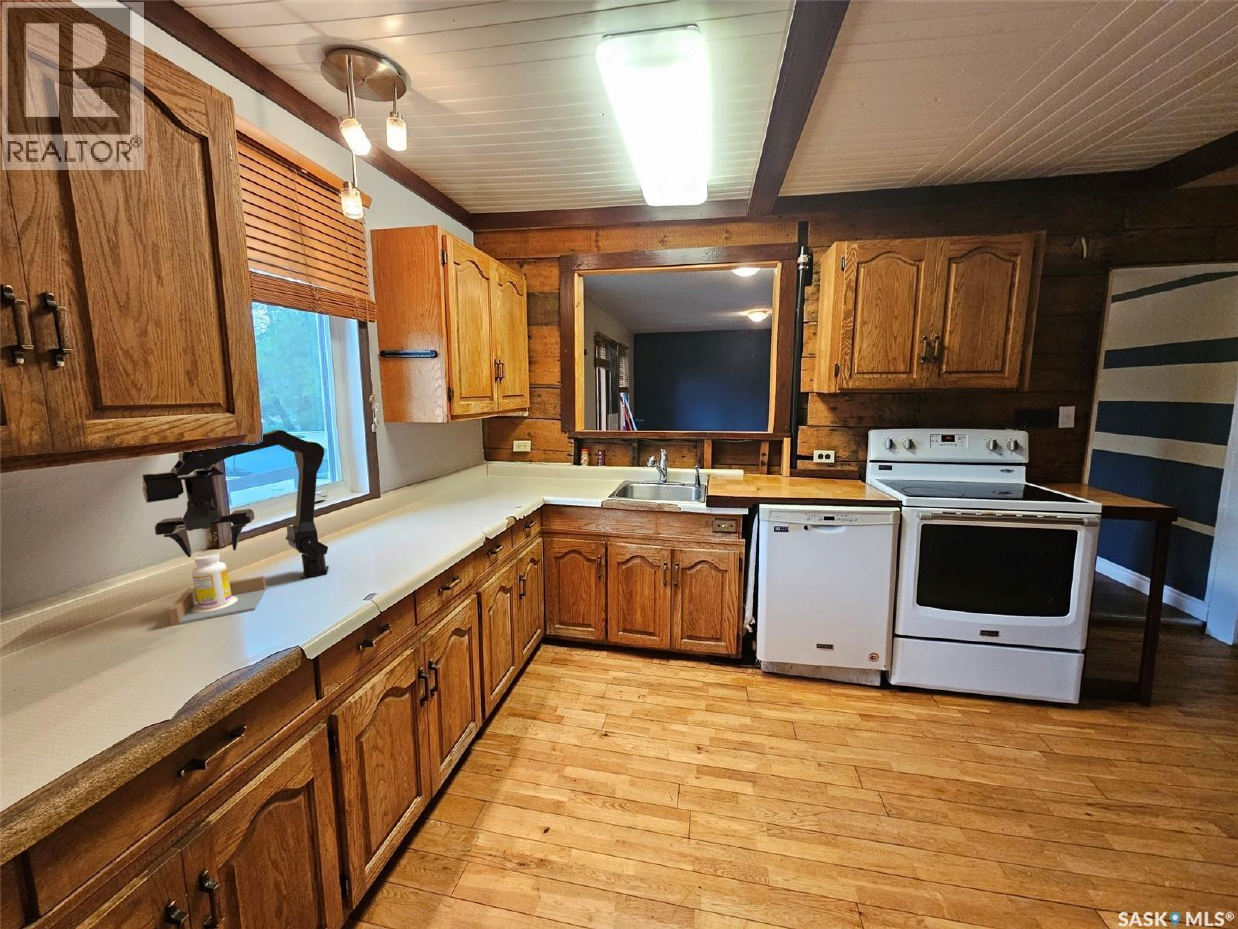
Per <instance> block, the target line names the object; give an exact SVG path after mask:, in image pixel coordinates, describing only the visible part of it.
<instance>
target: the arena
mask: <svg viewBox="0 0 1238 929" xmlns="http://www.w3.org/2000/svg"><path fill="white" fill-rule="evenodd" d="M229 584H230V589H231V595H232V599H231V600H230V601H229V602H228V603H226V604H224V605H221V606H218V607H214V608H208V609H204V608H200V607H199V606H198V602H197V596H196V591H195V586H194V587H190V588H188V589H186V591H185V592H184V593H183V594H182V595H181V596H180V597H179V598H178V599H177V600H176V601H175V602H174V603H173V604H172V606H171V607H169V608H168V614H169V620H170V625H171V627H172V626H177V625H182V624H187V623H194V622H198V621H203V620H208V619H213V618H218V617H219V618H220V617H225V616H229V615H234V614H236V615H237V614H239V613H245V612H251V611H255V610H256V608H257V607H258V605H259V603H260V601H261V600H262V598H263V596H264V594H265V592H266V591H267V587H266V581H265V575H261V576H255V577H250V578H244V579H238V580H237V579H236V580H232V581H230V580H229Z"/></svg>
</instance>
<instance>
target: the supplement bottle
mask: <svg viewBox="0 0 1238 929" xmlns="http://www.w3.org/2000/svg"><path fill="white" fill-rule="evenodd" d="M220 557H221V556H220V553H218V552H209V553H204V554H200V555H198V556H197V555H196V557H194V563H195V564H196V567H194V568H193V569H192V571H191V576H192V580H193V585H194V587H195V591H196V596H197V602H198V606H199V607H200V608H204V609H208V608H214V607H218V606H221V605H224V604H226V603H228V602H229V601H230V600H231V599H232V595H231V589H230V584H229V582H230V579H229V574H228V569H227V565H226V563H225V562H222V561H220Z"/></svg>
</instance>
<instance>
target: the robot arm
mask: <svg viewBox="0 0 1238 929" xmlns="http://www.w3.org/2000/svg"><path fill="white" fill-rule="evenodd" d="M262 434H263V442H262V443H259V444H255V445H236V446H227V447H222V448H216V449H206V450H199V451H192V452H182V453H179V452H178V456H177V458H178V460H177V462H176V463H175V465H173V467H172V469H171V470H170V471H168V472H167V471H166V472H160V473H143V474H142V475H141V476H142V492H143V496H144V497H143V498H144V500H145V502H146V504H147V503H155V502H162V501H169V500H176V499H179V496H182V494H184V493H186V497H187V502H186V505H187V506H186V511H185V513H184V515H183V517H182V516H180V517H171V518H164V519H162V520H160V521H158V522H157V523H155V525H154V532H155V535H156V536H159V535H160V536H161V535H163V537H164V538H170V539H172V540H173V541H174V542H175V543H177V545H179V547H180V549H181V551H183V552H184V554H185V555H186V557H188V558H191V557H192V548H191V544H190V540H189V535H188V532H189V531H190V532H191V531H194V530H201V529H202V530H207V529H209V528H211V527H212V525H217V524H222V523H223V524H226V523H231V524H232V525H231V526H230V531H231V546H232V551H236V550H237V549H238V545H239V540H240V536H241V534H242V530H243V528H245V527H246V526H247V525H248V524H250V523H252V522H253V520H255V513H254V510H252V509H251V508H248V509H247V508H246V509H238V510H233V512H232V513H230V514H226V515H225V514H223V513H222V510H221V508H220V504H219V495H218V493H217V486H216V482H215V476H222V475H224V471H221V470H220V469H218V468H217V467H216V466H214V465H216V464H218V463H220V462H222V461H224V460H226V459H228V458H231V457H234V456H238V455H242V454H243V455H244V454H247V453H250V452H255V451H259V450H262V449H267V448H271V447H275V446H280V447H282V448H284V449H286V450H288V451H290V452H292V453H294V460H295V464H296V467H297V470H298V481H297V495H296V509H295V510H296V512H295V518H294V519H295V520H294V522H293V523H292V525H287V526H286V532H287V534H286V537H285V540H286V541H287V543H288V545H289V546H290V547H291V548H292V549H294V550H296V551H297V552H298V553H300V554H301V563H302V569H303V570H302V574H301V576H300V577H301V579H307V578H311V577H317V576H324V575H327V574H328V573H329V565H327V564H326V556H325V555H326V554H328V550H329V547H328V546H327V545H325V544H323V543H322V542H320V541H319V537H318V536H319V535H318V530H317V527H316V524H315V520H314V519H315V505H316V491H317V490H316V489H317V477H318V476H317V474H318V472H319V470H320V468H321V465H322V463H323V460H324V457H325V448H324V447H323V445H321V444H320V443H318V442H316V441H315V442H314V441H307V440H305V439H302V438H300V437H297V436H295V435H292V434H290V433H288V432H287V431H285V430H282V429H273V430H271V431H268V432H265V433H262ZM208 467H209V468H208ZM206 468H208V469H206ZM192 473H193V474H192ZM183 481H184V485H183ZM184 486H185V492H184Z"/></svg>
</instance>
